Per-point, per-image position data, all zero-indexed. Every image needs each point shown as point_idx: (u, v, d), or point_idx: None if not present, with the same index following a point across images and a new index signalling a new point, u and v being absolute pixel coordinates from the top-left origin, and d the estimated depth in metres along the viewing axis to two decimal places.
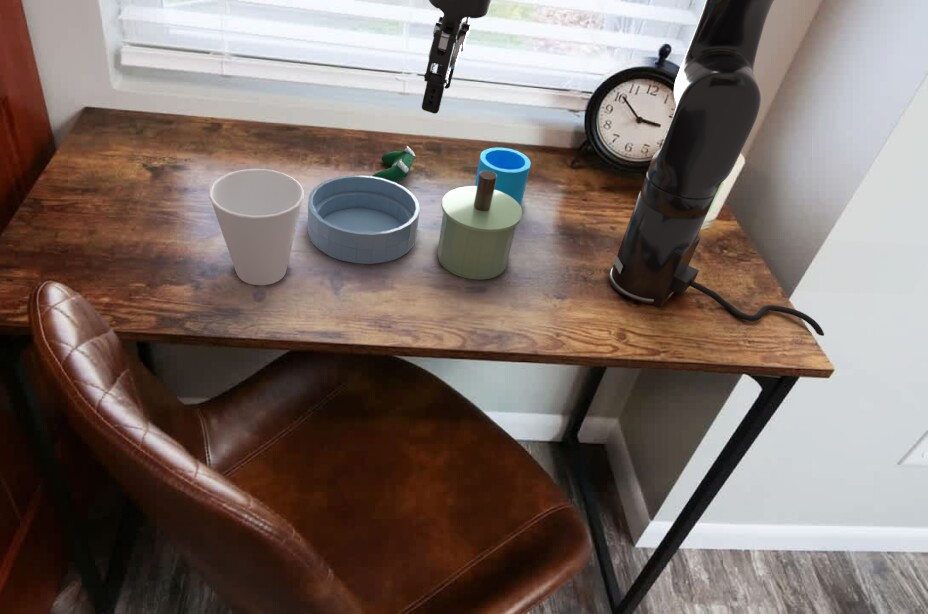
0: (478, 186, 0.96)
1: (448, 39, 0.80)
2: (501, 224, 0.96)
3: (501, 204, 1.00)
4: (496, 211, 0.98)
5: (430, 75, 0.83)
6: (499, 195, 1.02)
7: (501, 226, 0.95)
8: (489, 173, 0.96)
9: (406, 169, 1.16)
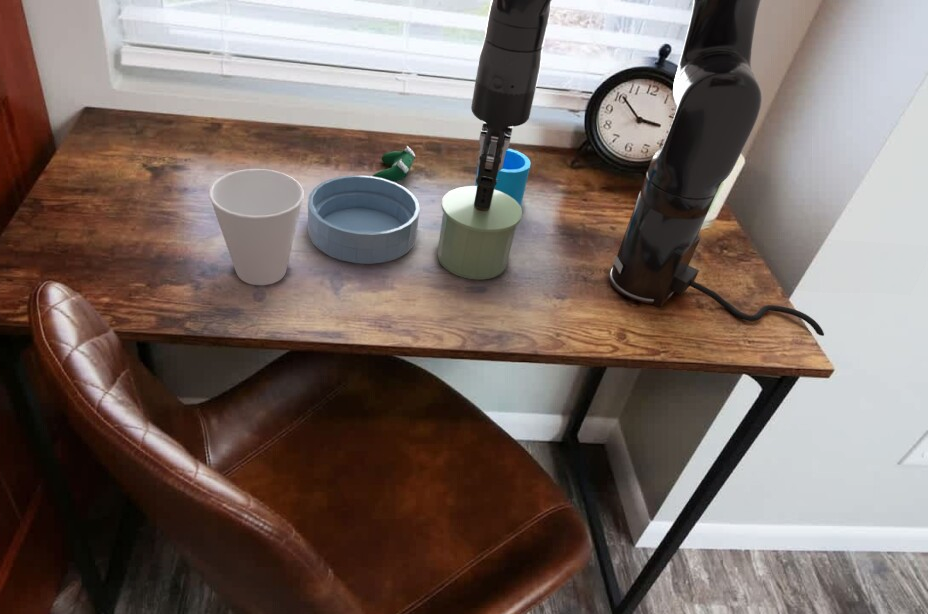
0: None
1: (493, 163, 0.87)
2: (501, 224, 0.96)
3: (501, 204, 1.00)
4: (496, 211, 0.98)
5: (481, 179, 0.91)
6: (499, 195, 1.02)
7: (501, 226, 0.95)
8: None
9: (406, 169, 1.16)
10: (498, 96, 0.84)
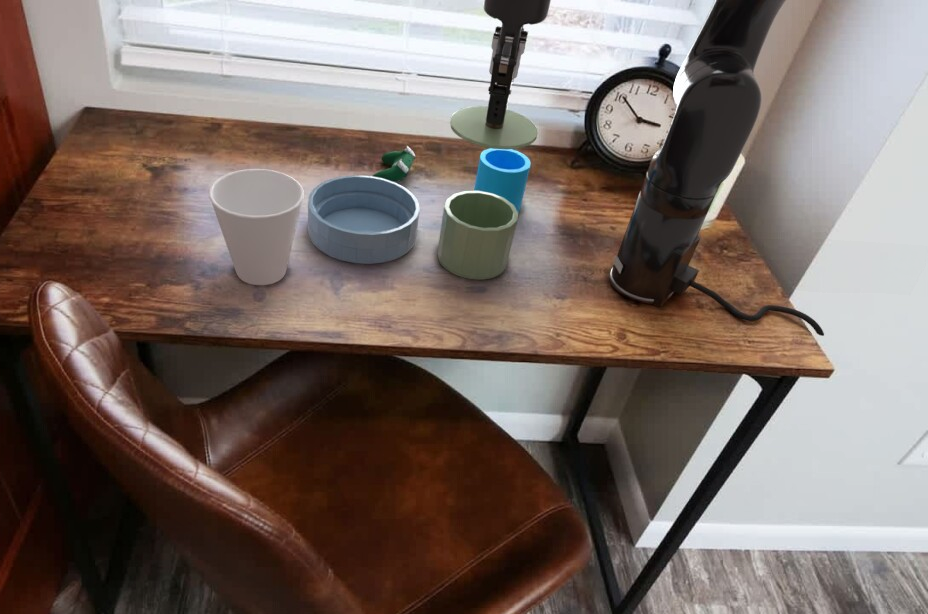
0: None
1: (508, 65, 0.79)
2: (515, 141, 0.88)
3: (515, 123, 0.92)
4: (509, 129, 0.90)
5: (494, 88, 0.83)
6: (512, 115, 0.93)
7: (515, 143, 0.87)
8: None
9: (406, 169, 1.16)
10: None
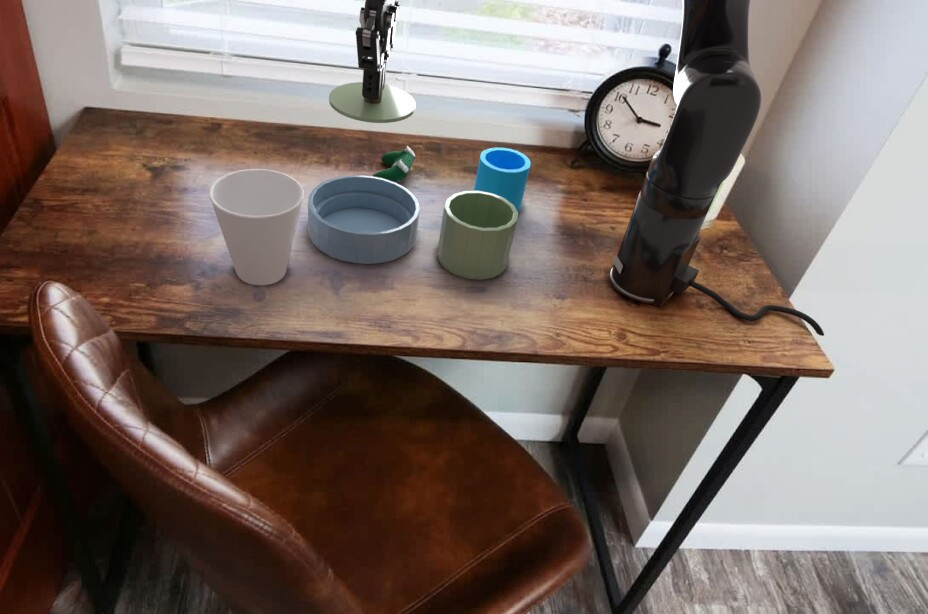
0: None
1: (370, 38, 0.81)
2: (390, 115, 0.89)
3: (394, 98, 0.93)
4: (387, 104, 0.92)
5: (363, 61, 0.85)
6: (394, 91, 0.95)
7: (389, 117, 0.89)
8: None
9: (406, 169, 1.16)
10: None
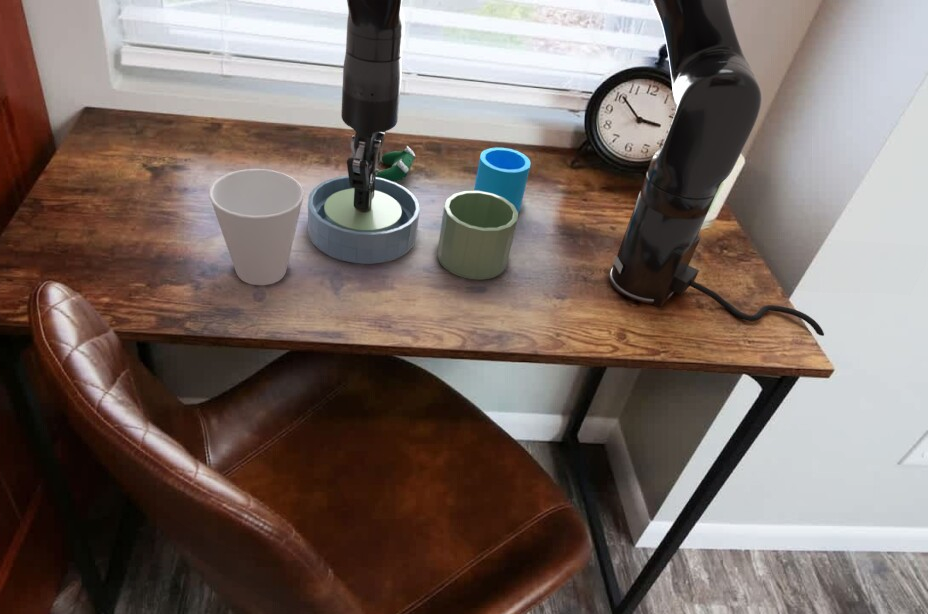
0: None
1: (359, 167, 0.92)
2: (378, 225, 1.00)
3: (383, 206, 1.04)
4: (376, 212, 1.03)
5: (354, 182, 0.96)
6: (382, 197, 1.06)
7: (377, 227, 1.00)
8: None
9: (406, 169, 1.16)
10: (360, 103, 0.89)
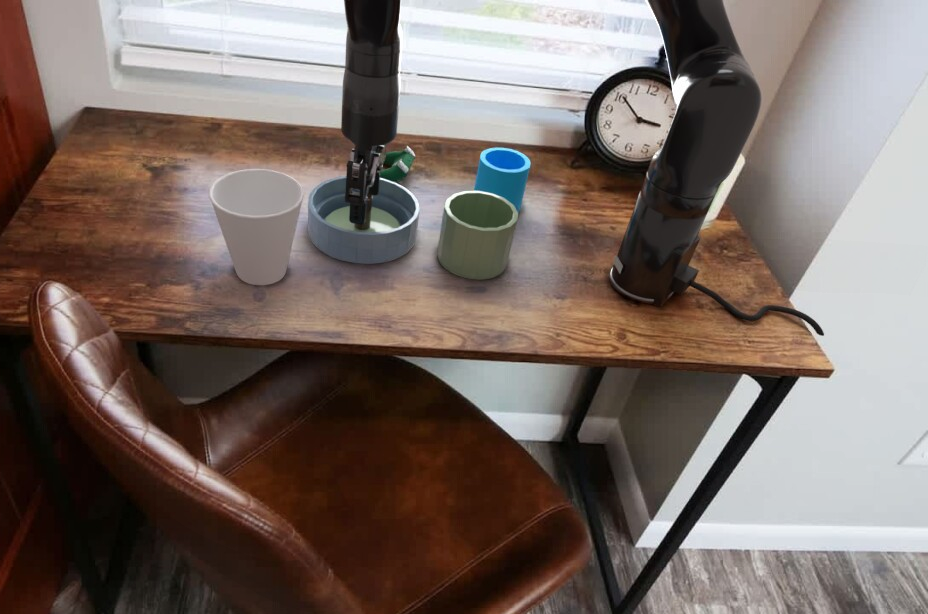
0: None
1: (359, 168, 0.91)
2: None
3: (381, 223, 1.06)
4: (375, 230, 1.05)
5: (349, 197, 0.94)
6: (381, 214, 1.08)
7: None
8: None
9: (406, 169, 1.16)
10: (359, 118, 0.90)
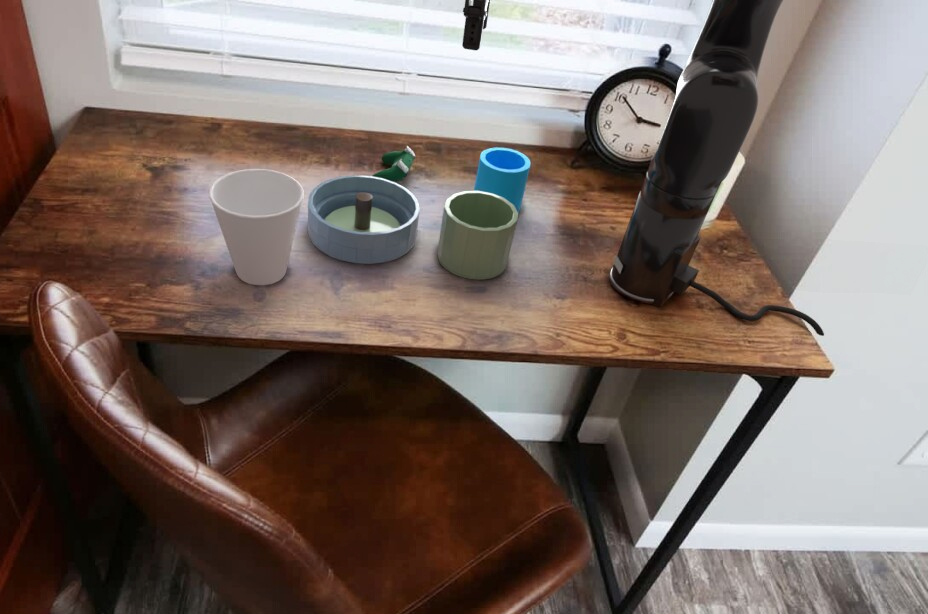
0: (355, 207, 1.03)
1: None
2: None
3: (381, 223, 1.06)
4: (375, 230, 1.05)
5: (469, 8, 0.82)
6: (381, 214, 1.08)
7: None
8: (365, 195, 1.02)
9: (406, 169, 1.16)
10: None
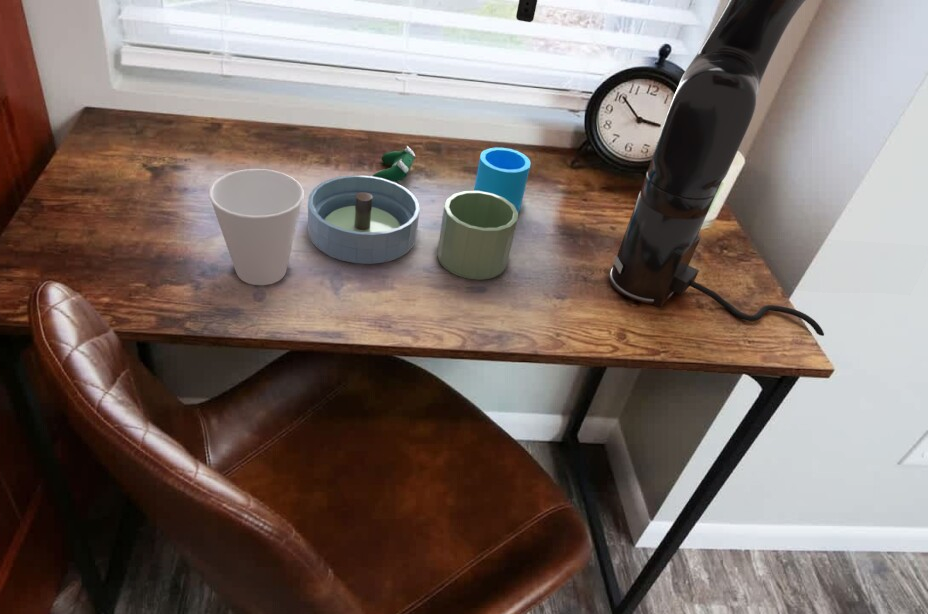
0: (355, 207, 1.03)
1: None
2: None
3: (381, 223, 1.06)
4: (375, 230, 1.05)
5: None
6: (381, 214, 1.08)
7: None
8: (365, 195, 1.02)
9: (406, 169, 1.16)
10: None
